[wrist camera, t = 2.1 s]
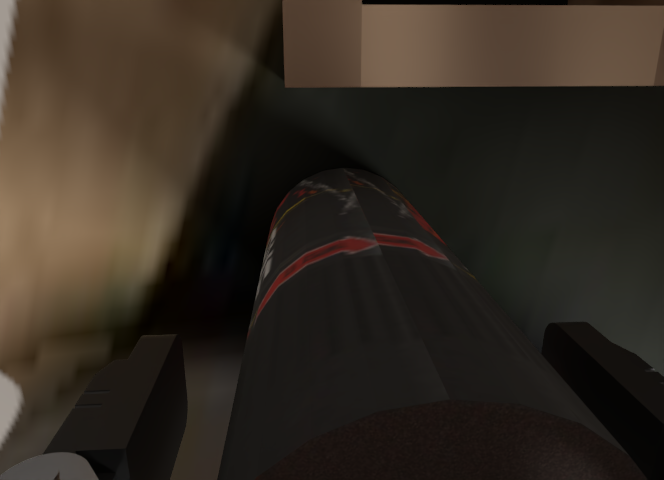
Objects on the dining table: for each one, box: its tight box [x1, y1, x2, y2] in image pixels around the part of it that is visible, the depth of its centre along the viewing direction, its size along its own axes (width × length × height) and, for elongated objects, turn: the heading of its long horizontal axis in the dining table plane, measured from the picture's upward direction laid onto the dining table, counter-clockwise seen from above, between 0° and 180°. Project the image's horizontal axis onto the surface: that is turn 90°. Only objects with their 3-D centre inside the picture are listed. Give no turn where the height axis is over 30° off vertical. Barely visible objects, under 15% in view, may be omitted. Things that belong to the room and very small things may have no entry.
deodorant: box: [217, 168, 648, 480], centre depth 14 cm, size 6×6×15 cm
